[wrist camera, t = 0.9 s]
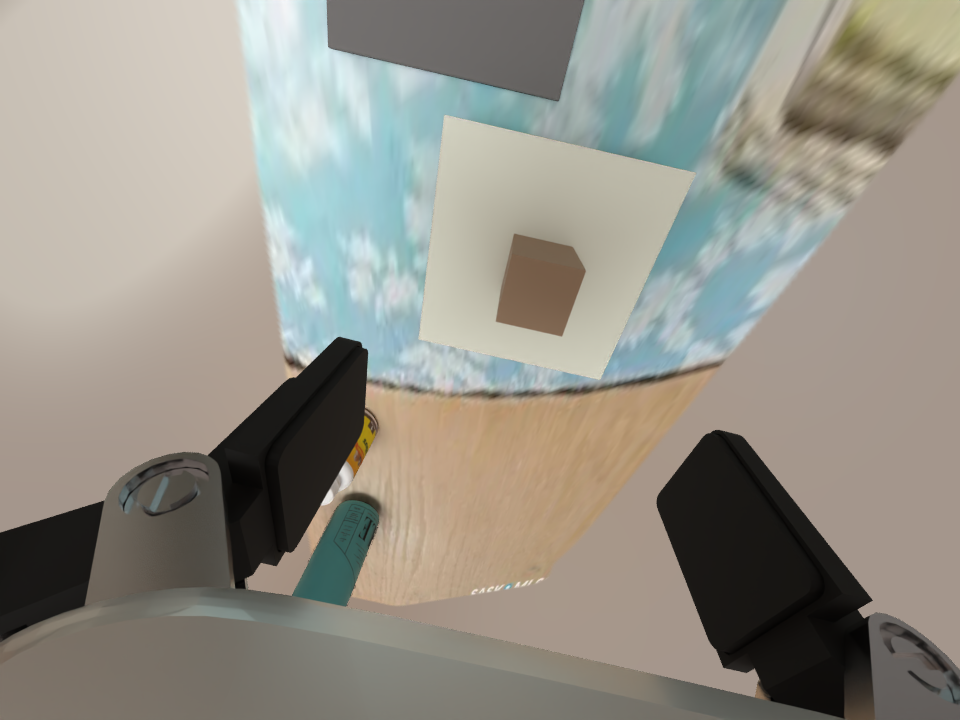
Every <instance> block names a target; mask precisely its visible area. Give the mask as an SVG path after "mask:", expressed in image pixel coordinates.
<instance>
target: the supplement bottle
mask: <svg viewBox="0 0 960 720" xmlns="http://www.w3.org/2000/svg"><path fill="white" fill-rule="evenodd" d="M377 429H378V427H377V422H376V420H375V418H374V417H373V416H372V415H371V414H370V413H369V412H368V411H367V410H365V415H364V426H363V430H362V433H361V436H360V438H359V439H358V441H357V443H356V444H355V446H354V448H353V450H352V451H351V453H350V455H349V457H348V458H347V460H346V462H345V464H344V465H343V467H342V469H341V471H340V472H339V474H338V476H337V477H336V479H335V481H334V483H333V484H332V486H331V488H330V490H329V491H328V493H327V495H326V497H325V498H324V500H323V502H322V504H321V505H326V504H329V503H331V502H332V500H333V499H334V497H335V495H336V494H337V493H338V491H342V490H344V489H346V488H347V487H348V486H349V485H350V484H351V482H352V481H353V479H354V477H355V475H356V473H357V471H358V469H359V467H360V465H361V463H362V461H363V459H364V457H365V455H366V453H367V452H368V450H369V448H370V446H371V444H372V442H373V440H374V438H375V436H376V434H377Z"/></svg>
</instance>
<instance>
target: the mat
mask: <svg viewBox="0 0 960 720" xmlns="http://www.w3.org/2000/svg"><path fill="white" fill-rule="evenodd" d="M583 3H584V0H327V25H328V47H329V48H331V49H336V50H340V51H344V52H349V53H353V54H357V55H362V56H366V57H370V58H374V59H379V60H383V61H387V62H392V63H396V64H400V65H405V66H409V67H413V68H418V69H422V70H426V71H430V72H435V73H439V74H443V75H448V76H452V77H456V78H461V79H465V80H469V81H473V82H478V83H482V84H486V85H491V86H495V87H499V88H504V89H508V90H512V91H517V92H521V93H525V94H529V95H534V96H538V97H542V98H547V99H551V100H555V101H559V97H560V93H561V89H562V85H563V81H564V77H565V74H566V70H567V66H568V62H569V58H570V54H571V50H572V46H573V42H574V38H575V34H576V30H577V26H578V22H579V18H580V14H581V10H582V7H583Z"/></svg>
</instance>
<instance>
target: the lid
mask: <svg viewBox="0 0 960 720" xmlns="http://www.w3.org/2000/svg"><path fill="white" fill-rule="evenodd" d="M695 175H696V173H695V172H690V171H686V170H682V169H677V168H673V167H669V166H664V165H660V164H656V163H651V162H647V161H643V160H638V159H634V158H630V157H625V156H621V155H617V154H612V153H608V152H604V151H599V150H595V149H591V148H586V147H582V146H578V145H573V144H569V143H565V142H561V141H556V140H552V139H548V138H543V137H539V136H535V135H530V134H526V133H522V132H517V131H513V130H509V129H504V128H500V127H496V126H491V125H487V124H483V123H478V122H474V121H470V120H465V119H461V118H457V117H452V116H448V115H444V122H443V131H442V140H441V149H440V157H439V166H438V175H437V184H436V192H435V201H434V210H433V219H432V227H431V236H430V245H429V254H428V262H427V271H426V280H425V289H424V297H423V306H422V315H421V323H420V332H419V339H420V340H424V341H429V342H433V343H437V344H442V345H446V346H451V347H455V348H460V349H464V350H469V351H473V352H478V353H482V354H487V355H491V356H496V357H500V358H504V359H509V360H513V361H518V362H522V363H527V364H531V365H536V366H540V367H545V368H549V369H554V370H558V371H563V372H567V373H571V374H576V375H580V376H585V377H589V378H594V379H598V380H600V379H601V377H602V375H603V372H604V370H605V368H606V366H607V364H608V362H609V360H610V357H611V355H612V353H613V351H614V349H615V347H616V344H617V342H618V340H619V338H620V336H621V334H622V332H623V329H624V327H625V325H626V323H627V321H628V319H629V317H630V314H631V312H632V310H633V308H634V306H635V304H636V302H637V299H638V297H639V295H640V293H641V291H642V289H643V287H644V284H645V282H646V280H647V278H648V276H649V274H650V271H651V269H652V267H653V265H654V263H655V261H656V259H657V256H658V254H659V252H660V250H661V248H662V246H663V244H664V241H665V239H666V237H667V235H668V233H669V231H670V229H671V226H672V224H673V222H674V220H675V218H676V216H677V214H678V211H679V209H680V207H681V205H682V203H683V201H684V198H685V196H686V194H687V192H688V190H689V188H690V186H691V183H692V181H693V179H694V177H695Z"/></svg>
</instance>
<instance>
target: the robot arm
mask: <svg viewBox="0 0 960 720" xmlns="http://www.w3.org/2000/svg"><path fill="white" fill-rule="evenodd" d="M367 363H368V350H367V349H364V348H362V344H361V342H358V341H354V340H350V339H346V338H342V337H338V338H336V339H335V340H334V341H333V342H332V343H331V344H330V345H329V346H328V347H327V348H326V349H325V350H324V351H323V352H322V353H321V354H320V355H319V356H318V357H317V358H316V359H315V360H314V361H313V362H312V363H311V364H310V365H308V366H307V367H306V368H305V369H304V370H303V371H302V372H301V373H300V374H299V375H298V376H297V377H296V378H295V377H293V378H289V379H288V380H287V381H285V382H284V383H283V384H282V385H281V386H280V387H279V388H278V389H277V390H276V391H275V392H274V393H273V394H272V395H271V396H270V397H268V399H266V400H265V401H264V402H263V403H262V404H261V405H260V406H259V407H258V408H257V409H256V410H255V411H254V412H253V413H252V414H251V415H250V416H249V417H248V418H246V419H245V420H244V421H243V422H242V423H241V424H240V425H239V426H238V427H237V428H236V429H235V430H234V431H233V432H232V433H231V434H230V435H229V436H228V437H227V438H225V439H224V440H223V441H222V442H221V443H220V444H219V445H218V446H217V447H216V448H215V449H214V450H213V451H212V452H211V453H210V454H209V455H208V456H207V455H204V454H201V453H193V452H192V453H191V452H182V453H174V454H168V455H164V456H161V457H158V458H155V459H151V460H149V461H148V462H145V463H143V464H141V465H139V466H137V467H135V468H133V469H132V470H131V471H130V472H128V473H126V474H125V475H124V476H122V477H121V478H120V479H119V480H118V481H117V482H116V483H115V485H114V486H113V487H112V488H111V489H110V490H109V492H108V495H107V497H106V499H105V501H101V502H98V503H95V504H92V505H88V506H85V507H82V508H79V509H75V510H73V511H69V512H66V513H63V514H59V515H56V516H53V517H50V518H47V519H43V520H40V521H37V522H33V523H30V524H27V525H24V526H20V527H17V528H14V529H11V530H7V531H4V532H1V533H0V720H960V670H959V668H958V667H957V666H956V665H955V664H954V663H953V662H952V661H951V659H949V657H948V656H947V655H946V654H945V653H943V652H942V651H941V650H940V649H939V648H938V647H937V646H936V645H935V644H934V643H932V642H931V641H930V640H929V639H928V638H926V637H925V636H924V635H922V634H921V633H919V632H918V631H917V630H916V629H914V628H913V627H911V626H909V625H908V624H906V623H904V622H903V621H901V620H900V619H897V618H894V617H892V616H890V615H888V614H883V613H874V614H872V615H870V616H868V617H866V618H863V617H862V615H861V614H860V613H859V611H858V610H857V609H859V608H861V607H862V606H864V605H866V604H867V603H869V602H871V601H873V600H872V599H871V598H870V596H869V595H868V594H867V592H866V591H865V590H864V589H863V587H862V586H861V585H860V584H859V582H858V581H857V580H856V579H855V577H854V576H853V575H852V574H851V572H850V571H849V570H848V568H847V567H846V566H845V565H844V563H843V562H842V561H841V560H840V558H839V557H838V556H837V555H836V553H835V552H834V551H833V550H832V548H831V547H830V546H829V545H828V543H827V542H826V541H825V540H824V538H823V537H822V536H821V534H820V533H819V532H818V531H817V529H816V528H815V527H814V526H813V524H812V523H811V522H810V521H809V519H808V518H807V517H806V515H805V514H804V513H803V512H802V511H801V509H800V508H799V507H798V506H797V504H796V503H795V502H794V500H793V499H792V498H791V497H790V495H789V494H788V493H787V492H786V490H785V489H784V488H783V486H782V485H781V484H780V483H779V481H778V480H777V479H776V478H775V476H774V475H773V474H772V473H771V472H770V470H769V469H768V468H767V466H766V465H765V464H764V462H763V461H762V460H761V459H760V458H759V456H758V455H757V454H756V452H755V451H754V450H753V449H752V447H751V446H750V445H749V444H748V442H747V441H746V440H745V439H744V438H743V437H742V436H740V435H738V434H733V433H729V432H725V431H721V430H715V431H712V432H711V433H708V434H706V435H705V436H704V437H703V438H702V439H701V440H700V442H699V443H698V444H697V446H696V447H695V448H694V449H693V451H692V452H691V453H690V454H689V456H688V457H687V458H686V460H685V461H684V462H683V463H682V465H681V466H680V467H679V469H678V470H677V471H676V472H675V474H674V475H673V476H672V478H671V479H670V480H669V482H668V483H667V484H666V485H665V487H664V488H663V489H662V490H661V492H660V493H659V495H658V497H657V508H658V511H659V513H660V516H661V519H662V521H663V523H664V526H665V529H666V531H667V534H668V536H669V539H670V542H671V544H672V547H673V549H674V552H675V555H676V557H677V560H678V562H679V565H680V568H681V570H682V573H683V575H684V578H685V580H686V583H687V586H688V588H689V591H690V593H691V596H692V598H693V601H694V604H695V606H696V609H697V611H698V614H699V616H700V619H701V622H702V624H703V627H704V629H705V632H706V635H707V637H708V639H709V641H710V643H711V645H712V646H713V647H714V648H715V649H716V650H717V653H718V655H719V658H720V660H721V663H722V665H723V668H727V669H732V670H736V671H740V672H745V673H747V672H749V671H751V670H752V669H754V668H755V670H756V672H757V674H758V676H759V680H758V684H757V689H756V695H755V697H750V696H746V695H742V694H737V693H733V692H728V691H724V690H720V689H716V688H711V687H707V686H703V685H698V684H694V683H690V682H685V681H681V680H676V679H672V678H668V677H663V676H659V675H654V674H650V673H645V672H641V671H636V670H632V669H628V668H623V667H619V666H615V665H610V664H606V663H601V662H597V661H592V660H588V659H583V658H579V657H574V656H570V655H565V654H561V653H557V652H552V651H548V650H543V649H539V648H535V647H530V646H526V645H521V644H517V643H512V642H507V641H503V640H498V639H493V638H489V637H485V636H480V635H475V634H471V633H467V632H462V631H457V630H453V629H448V628H444V627H439V626H435V625H430V624H425V623H421V622H416V621H412V620H407V619H403V618H398V617H394V616H389V615H385V614H379V613H375V612H370V611H365V610H359V609H354V608H349V607H345V606H340V605H335V604H330V603H325V602H320V601H315V600H310V599H305V598H300V597H295V596H288V595H282V594H275V593H267V592H261V591H254V590H248V584H247V577H249V576H251V575H253V574H254V572H255V570H256V569H257V568H258V566H259V565H260V563H265V564H269V565H273V566H277V565H278V563H279V561H280V560H281V558H282V556H283V555H284V553H285V552H290V553H291V552H293V551H294V549H295V548H296V547H297V545H298V543H299V542H300V540H301V538H302V537H303V535H304V533H305V531H306V530H307V528H308V526H309V524H310V523H311V521H312V519H313V517H314V516H315V514H316V512H317V510H318V509H319V507H320V505H321V504H322V502H323V500H324V498H325V497H326V495H327V493H328V491H329V490H330V488H331V486H332V484H333V483H334V481H335V479H336V477H337V476H338V474H339V472H340V471H341V469H342V467H343V465H344V464H345V462H346V460H347V458H348V457H349V455H350V453H351V451H352V450H353V448H354V446H355V444H356V443H357V441H358V439H359V438H360V436H361V433H362V430H363V426H364V415H365V397H366V380H367Z"/></svg>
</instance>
